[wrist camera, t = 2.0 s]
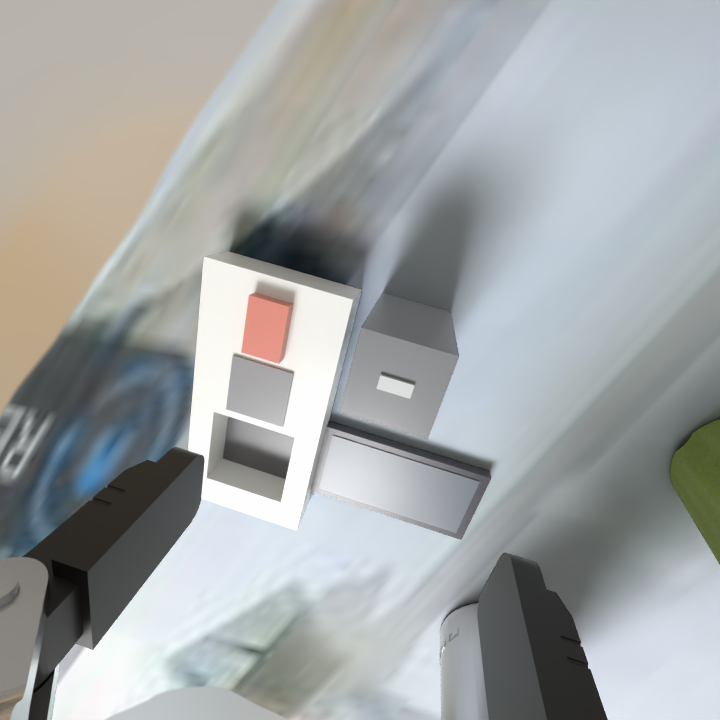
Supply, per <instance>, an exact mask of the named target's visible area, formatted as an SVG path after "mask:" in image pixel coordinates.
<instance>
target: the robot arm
mask: <svg viewBox="0 0 720 720" xmlns="http://www.w3.org/2000/svg"><path fill="white" fill-rule="evenodd" d="M204 461H205V460H204V456H203V455H200V454H197V453H194V452H191V451H188V450H185V449H181V448H178V447H174V448H172V449H171V450H169V451H168V452H167V453H166V454H165V455H164V456H163V457H162V458H161V459H160V460H158V461H157V462H152V461H149V460H146V461H144V462H142V463H140V464H137V465H135V466H133V467H131V468H129V469H127V470H125V471H124V472H123V473H121V474H120V475H119V476H118V477H117V478H115V479H114V480H113V481H112V482H111V483H110V484H108V487H107V488H104V489H103V490H101V491H100V492H99V493H98V494H97V495H95V496H94V497H93V500H92V501H88V502H87V503H86V504H85V505H84V506H83V507H81V508H80V509H79V510H78V511H77V512H75V513H74V514H73V515H72V516H71V517H70V518H68V519H67V520H66V521H65V522H64V523H63V524H61V525H60V526H59V527H58V528H57V529H55V530H54V531H53V532H52V533H51V534H50V535H48V536H47V537H46V538H45V539H44V540H43V541H41V542H40V543H39V544H38V545H37V546H36V547H34V548H33V549H32V550H31V551H29V552H28V553H27V554H25V555H24V556H22V557H14V558H7V559H3V560H0V720H52V714H53V707H54V701H55V694H56V687H57V681H58V674H59V666H60V662H61V660H62V659H63V658H64V657H65V655H66V654H67V653H68V652H69V651H70V649H71V648H72V647H73V646H74V644H75V643H76V644H79V645H81V646H84V647H87V648H90V649H92V650H93V649H94V648H95V646H96V645H97V644H98V642H99V641H100V640H101V639H102V637H103V636H104V635H105V633H106V632H107V631H108V630H109V628H110V627H111V626H112V624H113V623H114V622H115V620H116V619H117V618H118V617H119V615H120V614H121V613H122V611H123V610H124V609H125V607H126V606H127V605H128V604H129V602H130V601H131V600H132V598H133V597H134V596H135V594H136V593H137V592H138V591H139V589H140V588H141V587H142V585H143V584H144V583H145V581H146V580H147V579H148V578H149V576H150V575H151V574H152V572H153V571H154V570H155V568H156V567H157V566H158V565H159V563H160V562H161V561H162V559H163V558H164V557H165V555H166V554H167V553H168V552H169V550H170V549H171V548H172V546H173V545H174V544H175V542H176V541H177V540H178V539H179V537H180V536H181V535H182V533H183V532H184V531H185V529H186V528H187V527H188V526H189V524H190V523H191V522H192V520H193V518H194V517H195V515H196V513H197V510H198V508H199V505H200V502H201V495H202V484H203V473H204ZM580 643H581V641H580V638H579V635H578V632H577V629H576V627H575V624H574V621H573V618H572V616H571V614H570V613H569V611H568V610H567V608H566V607H565V605H564V604H563V602H562V601H561V599H560V598H559V596H558V595H557V593H555V592H552V591H549V590H546V587H545V583H544V580H543V577H542V573H541V570H540V567H539V566H538V564H537V563H536V562H533V561H530V560H527V559H524V558H521V557H518V556H515V555H511V554H508V553H503V554H502V555H501V556H500V558H499V560H498V562H497V564H496V566H495V567H494V569H493V571H492V573H491V575H490V577H489V578H488V580H487V582H486V584H485V586H484V588H483V590H482V592H481V594H480V598H479V602H478V603H474V604H471V605H467V606H463V607H461V608H459V609H457V610H455V611H454V612H452V613H451V614H450V615H449V616H448V617H447V618H446V619H445V621H444V622H443V624H442V627H441V630H440V666H441V720H608V719H607V717H606V714H605V711H604V708H603V705H602V702H601V699H600V696H599V693H598V690H597V688H596V685H595V682H594V679H593V676H592V673H591V670H590V669H588V661H587V659H586V656H585V653H584V650H583V647H581V646H580Z"/></svg>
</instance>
